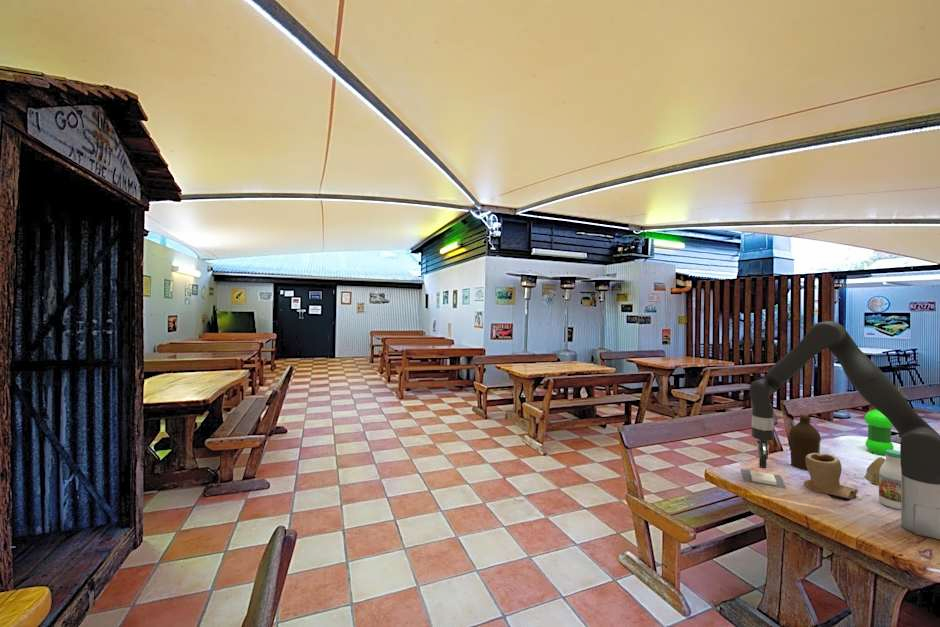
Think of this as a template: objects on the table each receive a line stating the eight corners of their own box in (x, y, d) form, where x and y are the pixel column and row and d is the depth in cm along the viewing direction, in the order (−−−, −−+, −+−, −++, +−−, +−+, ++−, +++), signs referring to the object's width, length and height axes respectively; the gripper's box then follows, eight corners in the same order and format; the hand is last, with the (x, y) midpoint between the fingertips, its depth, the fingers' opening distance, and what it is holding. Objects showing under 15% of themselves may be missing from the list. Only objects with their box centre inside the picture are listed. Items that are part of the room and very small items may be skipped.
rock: (887, 483, 153) (901, 476, 156) (869, 462, 158) (883, 455, 161) (860, 489, 162) (874, 482, 165) (844, 469, 166) (857, 463, 169)
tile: (773, 478, 161) (776, 486, 154) (750, 474, 165) (752, 481, 158) (773, 474, 161) (776, 482, 154) (750, 470, 165) (752, 477, 158)
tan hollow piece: (800, 491, 153) (800, 453, 152) (806, 482, 160) (806, 446, 160) (853, 506, 141) (854, 465, 141) (858, 495, 148) (858, 457, 148)
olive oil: (794, 472, 170) (794, 416, 169) (785, 463, 180) (785, 410, 179) (825, 475, 166) (825, 418, 165) (814, 466, 175) (814, 412, 175)
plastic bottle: (858, 449, 195) (858, 400, 195) (877, 448, 196) (878, 400, 195) (880, 457, 185) (881, 406, 185) (901, 456, 186) (901, 405, 185)
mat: (786, 492, 152) (786, 489, 152) (743, 483, 159) (743, 481, 159) (780, 478, 164) (780, 475, 164) (740, 471, 171) (740, 468, 171)
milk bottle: (877, 497, 147) (877, 446, 146) (907, 504, 142) (907, 450, 141) (881, 506, 141) (881, 452, 140) (912, 513, 136) (913, 457, 135)
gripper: (750, 421, 168) (750, 460, 169) (753, 429, 157) (753, 471, 157) (771, 423, 164) (771, 463, 165) (776, 432, 153) (776, 475, 153)
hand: (762, 467), depth 161 cm, fingers closed
